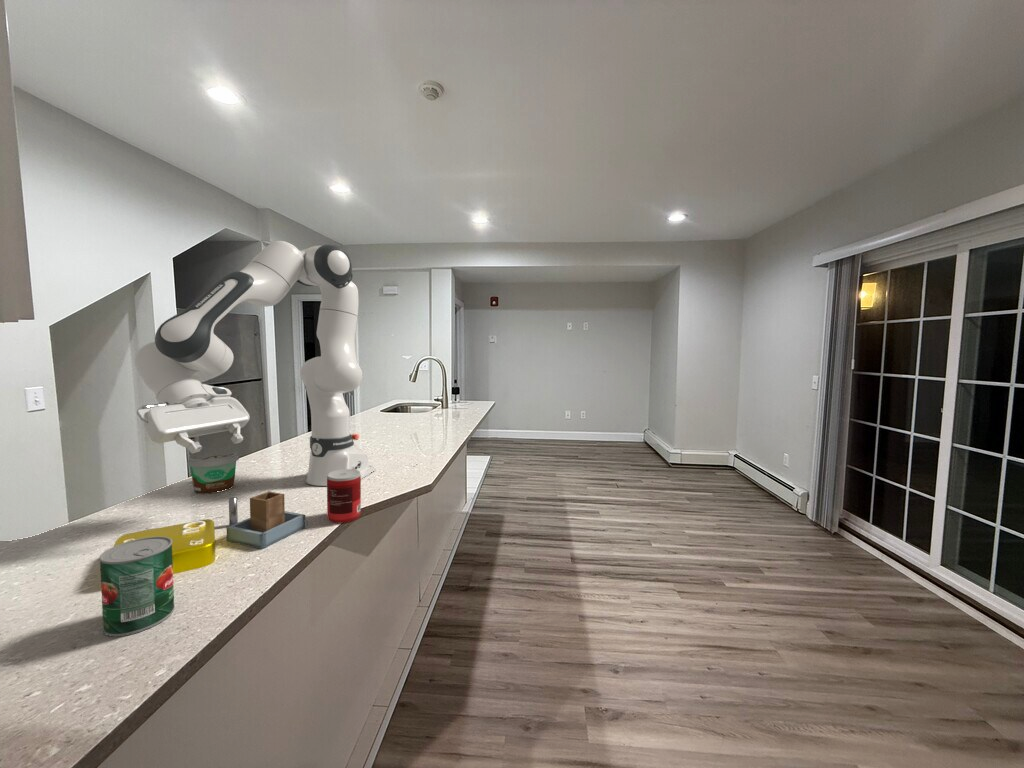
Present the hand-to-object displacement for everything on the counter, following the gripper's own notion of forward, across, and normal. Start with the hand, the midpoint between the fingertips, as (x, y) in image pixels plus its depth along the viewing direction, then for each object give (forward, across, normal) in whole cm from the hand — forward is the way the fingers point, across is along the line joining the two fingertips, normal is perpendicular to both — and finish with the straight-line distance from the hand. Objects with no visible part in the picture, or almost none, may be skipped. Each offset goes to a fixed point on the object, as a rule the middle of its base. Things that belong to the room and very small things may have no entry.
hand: (219, 446), depth 90 cm
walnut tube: (+22, 0, +4) cm, 22 cm away
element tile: (+17, -14, +10) cm, 24 cm away
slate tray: (+23, 0, +4) cm, 23 cm away
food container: (-3, +16, +30) cm, 34 cm away
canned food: (+29, +14, -2) cm, 32 cm away
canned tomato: (+27, -27, -1) cm, 39 cm away
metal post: (+15, +1, +12) cm, 19 cm away
